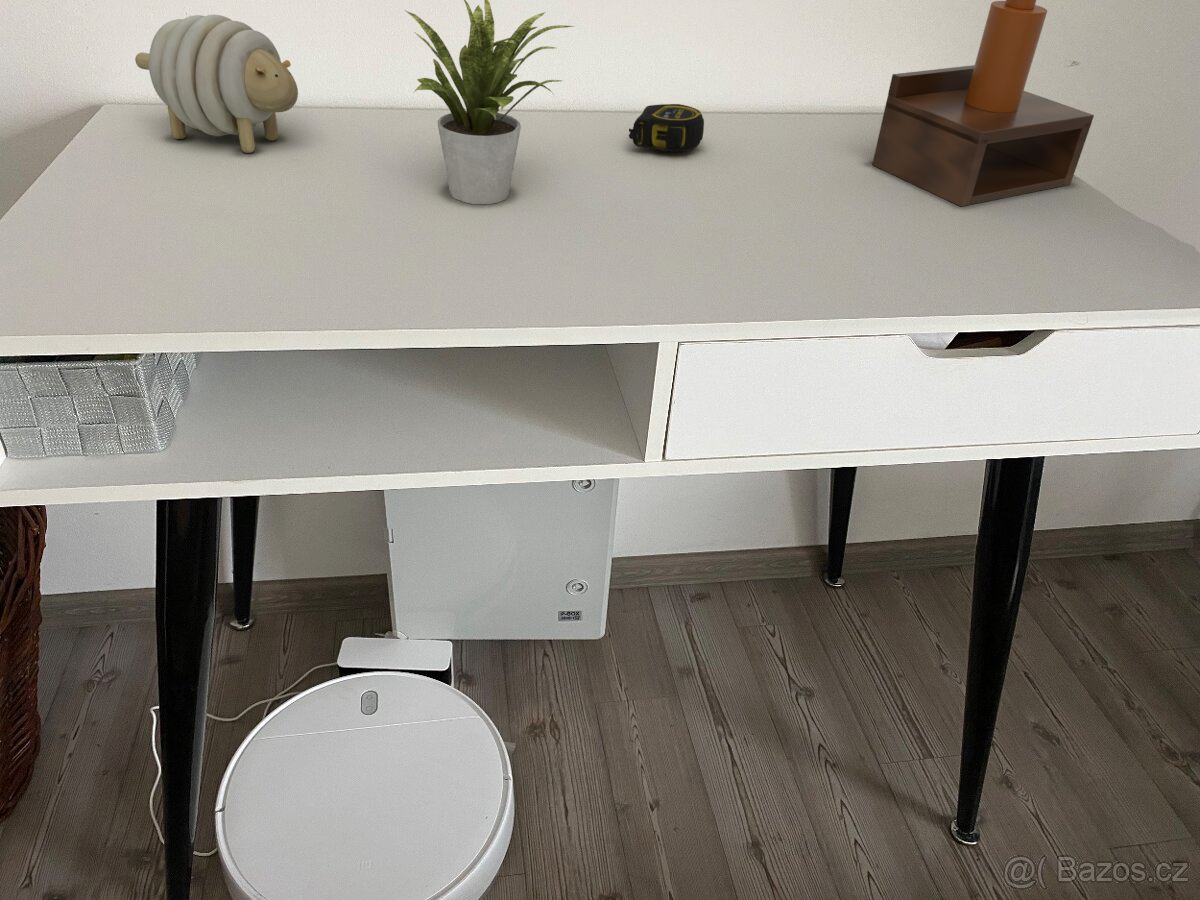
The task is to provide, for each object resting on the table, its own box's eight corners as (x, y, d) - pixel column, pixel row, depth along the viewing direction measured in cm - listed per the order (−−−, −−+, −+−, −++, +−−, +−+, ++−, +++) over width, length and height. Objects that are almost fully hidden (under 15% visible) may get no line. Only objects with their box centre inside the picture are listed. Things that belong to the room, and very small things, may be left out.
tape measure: (643, 133, 107) (646, 97, 105) (707, 143, 105) (711, 106, 103) (626, 152, 101) (630, 115, 99) (693, 163, 100) (698, 125, 98)
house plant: (600, 215, 87) (614, 14, 78) (452, 240, 81) (448, 24, 72) (523, 161, 97) (528, -23, 88) (386, 179, 91) (376, -17, 82)
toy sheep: (274, 168, 91) (258, 39, 85) (109, 141, 94) (82, 14, 88) (329, 134, 100) (319, 15, 93) (176, 110, 103) (156, -8, 96)
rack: (1070, 184, 102) (1101, 94, 97) (960, 206, 95) (988, 110, 90) (979, 147, 111) (1003, 61, 105) (871, 164, 103) (892, 74, 98)
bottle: (1028, 110, 98) (1068, -19, 92) (993, 115, 96) (1031, -16, 89) (988, 95, 102) (1024, -30, 95) (954, 100, 99) (987, -28, 93)
